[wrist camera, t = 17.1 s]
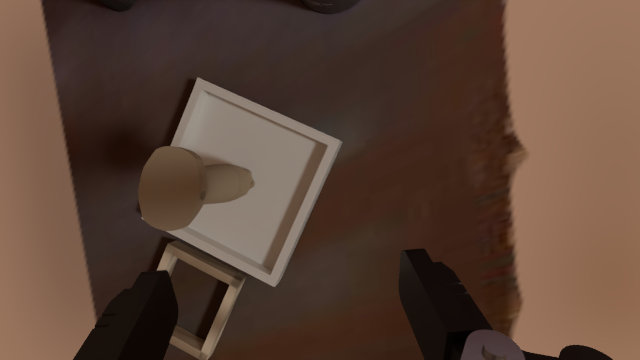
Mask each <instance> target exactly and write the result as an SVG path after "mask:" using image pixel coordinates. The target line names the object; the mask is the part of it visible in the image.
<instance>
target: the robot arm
mask: <svg viewBox="0 0 640 360" xmlns="http://www.w3.org/2000/svg"><path fill="white" fill-rule="evenodd" d="M301 1H302V2H303V3H304V4H305V5H307V6H308V7H309V8H311V9H313V10H315V11H317V12H321V13H331V14H332V13H338V12H342V11H344V10H347V9H349V8H351V7H352V6H354V5H355V4H356V3H357V2H359V1H360V0H301ZM399 294H400V299H401V303H402V305H403V308H404V310H405V313H406V315H407V317H408V320H409V322H410V325H411V327H412V330H413V332H414V335H415V337H416V339H417V342H418V344H419V347H420V349H421V352H422V354H423V356H424V359H425V360H613V359H612V358H610V357H609V356H607V355H605V354H603V353H602V352H600V351H598V350H595V349H593V348H590V347H587V346H581V345H570V346H567V347H565V348H563V349H562V350H561V352H560V355H559V358H557V357H552V356H546V355H541V354H535V353H530V352H526V351H523V350H521V349H520V347H519V346H518V345H517V344H516V343H515V342H514V341H513V340H511V339H510V338H509V337H507V336H505V335H503V334H501V333H499V332H496V331H494V330H493V329H492V327H491V326H490V324H489V323H488V321H487V320H486V319H485V317H484V316H483V314H482V313H481V311H480V310H479V308H478V307H477V305H476V304H475V302H474V301H473V299H472V298H471V296H470V295H469V294H468V292H467V290H466V289H465V287H464V286H463V285H462V284H461V281H460V280H459V278H458V277H457V276H456V274H455V273H454V271H453V270H451V269H450V268H449V267H447V266H446V265H445V264H443V263H442V262H434V263H433V262H432V260H431V258H430V257H429V255H428V253H427V252H426V250H425V249H412V250H403V251H402V252H401V258H400V273H399ZM177 320H178V304H177V300H176V297H175V293H174V290H173V286H172V282H171V279H170V275H169V273H168V271H167V270H159V271H147V272H142V273H140V275H139V276H138V278H137V280H136V281H135V283H134V285H133V286H132V288H131V289H124V290H123V291H122V292H121V293H120V294H118V295H117V296H116V297H115V298H114V299H113V300H111V301H110V303H109V305H108V306H107V308H106V309H105V311H104V312H103V314H102V317H100V318H99V320H98V322H97V323H96V325H95V328H94V329H92V331H91V332H90V334H89V336H88V337H87V339H86V340H85V342H84V343H83V345H82V346H81V348H80V350H79V351H78V353H77V354H76V356H75V357H74V359H73V360H163V358H164V356H165V353H166V350H167V348H168V345H169V342H170V340H171V337H172V334H173V332H174V329H175V326H176V324H177Z"/></svg>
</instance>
